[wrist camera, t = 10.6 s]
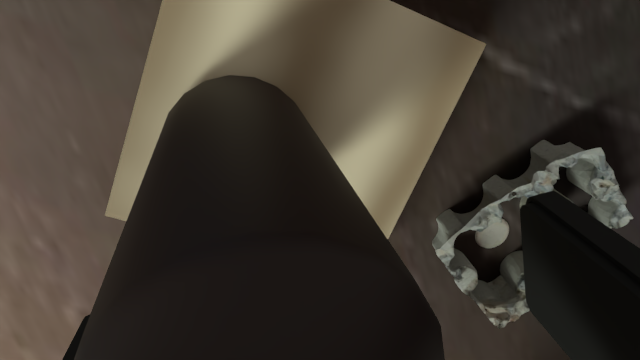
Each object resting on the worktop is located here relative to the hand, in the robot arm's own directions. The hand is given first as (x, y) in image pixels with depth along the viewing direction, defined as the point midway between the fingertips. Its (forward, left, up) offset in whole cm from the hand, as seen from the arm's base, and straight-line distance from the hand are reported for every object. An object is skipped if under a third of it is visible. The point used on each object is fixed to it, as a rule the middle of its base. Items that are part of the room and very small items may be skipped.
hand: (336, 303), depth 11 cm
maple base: (0, 0, -16) cm, 16 cm away
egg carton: (-15, +1, -16) cm, 22 cm away
